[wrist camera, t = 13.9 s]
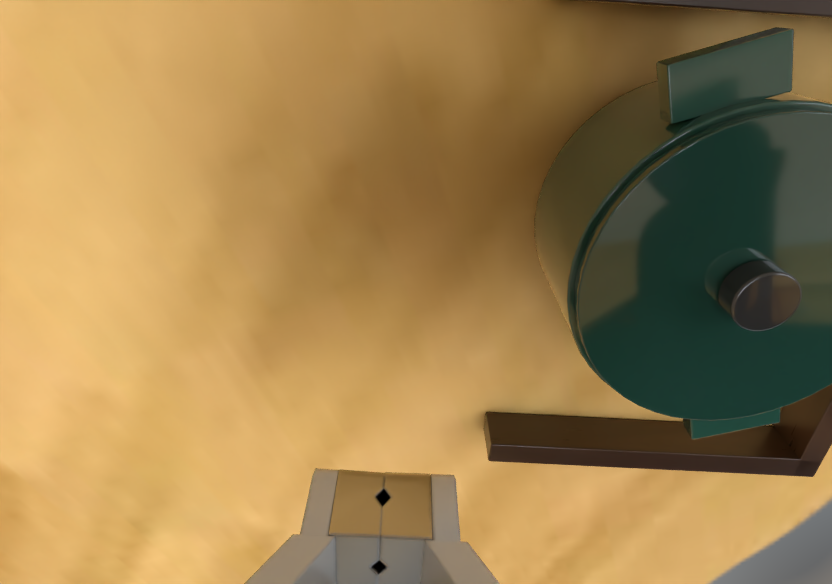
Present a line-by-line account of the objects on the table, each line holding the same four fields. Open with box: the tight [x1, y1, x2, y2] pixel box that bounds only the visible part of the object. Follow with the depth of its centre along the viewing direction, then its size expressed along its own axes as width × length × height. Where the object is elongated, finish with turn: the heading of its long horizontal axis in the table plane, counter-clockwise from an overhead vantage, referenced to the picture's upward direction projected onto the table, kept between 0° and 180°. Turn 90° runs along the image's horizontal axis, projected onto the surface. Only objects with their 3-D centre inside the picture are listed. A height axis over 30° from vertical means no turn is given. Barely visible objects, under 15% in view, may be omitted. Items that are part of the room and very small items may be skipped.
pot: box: [535, 28, 832, 439], centre depth 21 cm, size 15×12×8 cm
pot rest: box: [484, 0, 832, 477], centre depth 25 cm, size 22×17×2 cm
